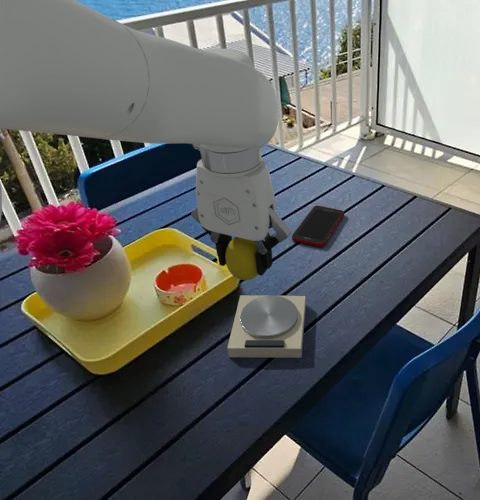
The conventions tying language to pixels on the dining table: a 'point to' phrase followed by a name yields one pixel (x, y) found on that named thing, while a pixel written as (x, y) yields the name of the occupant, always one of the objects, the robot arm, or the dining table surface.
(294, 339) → the scale
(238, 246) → the lemon
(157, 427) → the dining table surface
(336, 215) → the cell phone
